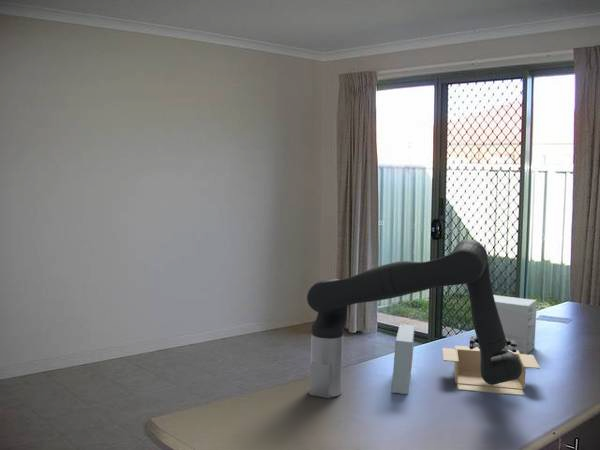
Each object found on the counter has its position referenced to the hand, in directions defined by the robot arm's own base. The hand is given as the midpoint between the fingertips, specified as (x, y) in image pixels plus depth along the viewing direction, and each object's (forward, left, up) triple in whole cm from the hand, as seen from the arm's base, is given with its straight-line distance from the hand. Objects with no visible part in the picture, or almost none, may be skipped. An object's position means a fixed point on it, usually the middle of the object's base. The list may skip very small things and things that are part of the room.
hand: (490, 338), depth 212 cm
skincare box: (-17, +23, -13) cm, 31 cm away
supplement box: (+41, +1, -13) cm, 43 cm away
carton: (-2, 0, -13) cm, 13 cm away
